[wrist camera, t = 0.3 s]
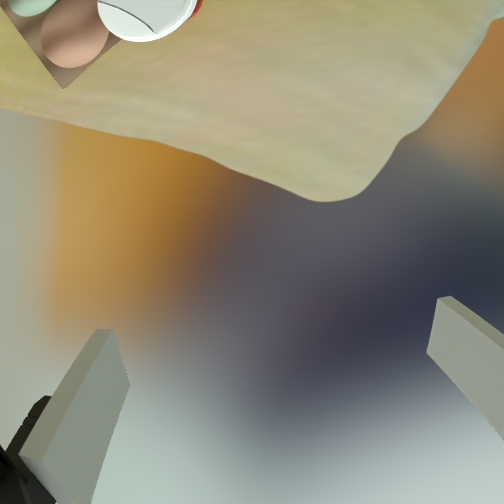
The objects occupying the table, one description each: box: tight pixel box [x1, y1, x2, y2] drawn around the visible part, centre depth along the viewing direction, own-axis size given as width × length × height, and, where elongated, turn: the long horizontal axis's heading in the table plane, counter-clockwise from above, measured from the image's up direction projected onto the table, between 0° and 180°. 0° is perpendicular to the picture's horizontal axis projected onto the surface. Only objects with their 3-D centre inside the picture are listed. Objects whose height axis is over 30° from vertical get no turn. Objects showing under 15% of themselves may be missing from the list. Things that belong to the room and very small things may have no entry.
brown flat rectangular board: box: [0, 0, 122, 89], centre depth 23 cm, size 20×12×2 cm, turn 29°
